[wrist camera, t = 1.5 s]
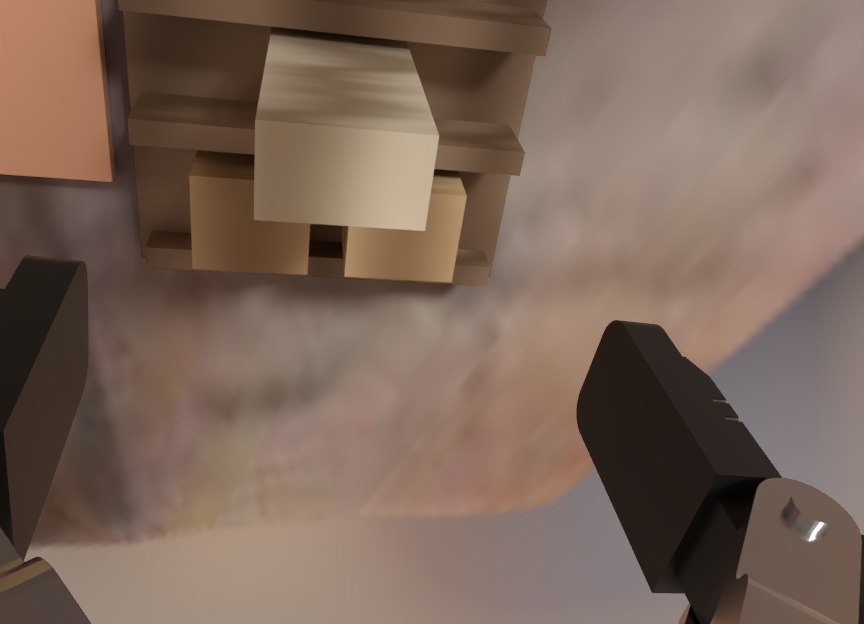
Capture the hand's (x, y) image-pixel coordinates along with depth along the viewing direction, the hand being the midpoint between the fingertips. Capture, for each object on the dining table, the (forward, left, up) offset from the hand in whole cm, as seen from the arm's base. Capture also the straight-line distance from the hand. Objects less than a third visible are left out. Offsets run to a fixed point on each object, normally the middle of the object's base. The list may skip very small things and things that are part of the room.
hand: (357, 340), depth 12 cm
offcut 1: (+3, +8, -22) cm, 23 cm away
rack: (0, +5, -23) cm, 23 cm away
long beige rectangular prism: (0, +2, -22) cm, 22 cm away
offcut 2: (-3, +8, -22) cm, 23 cm away
